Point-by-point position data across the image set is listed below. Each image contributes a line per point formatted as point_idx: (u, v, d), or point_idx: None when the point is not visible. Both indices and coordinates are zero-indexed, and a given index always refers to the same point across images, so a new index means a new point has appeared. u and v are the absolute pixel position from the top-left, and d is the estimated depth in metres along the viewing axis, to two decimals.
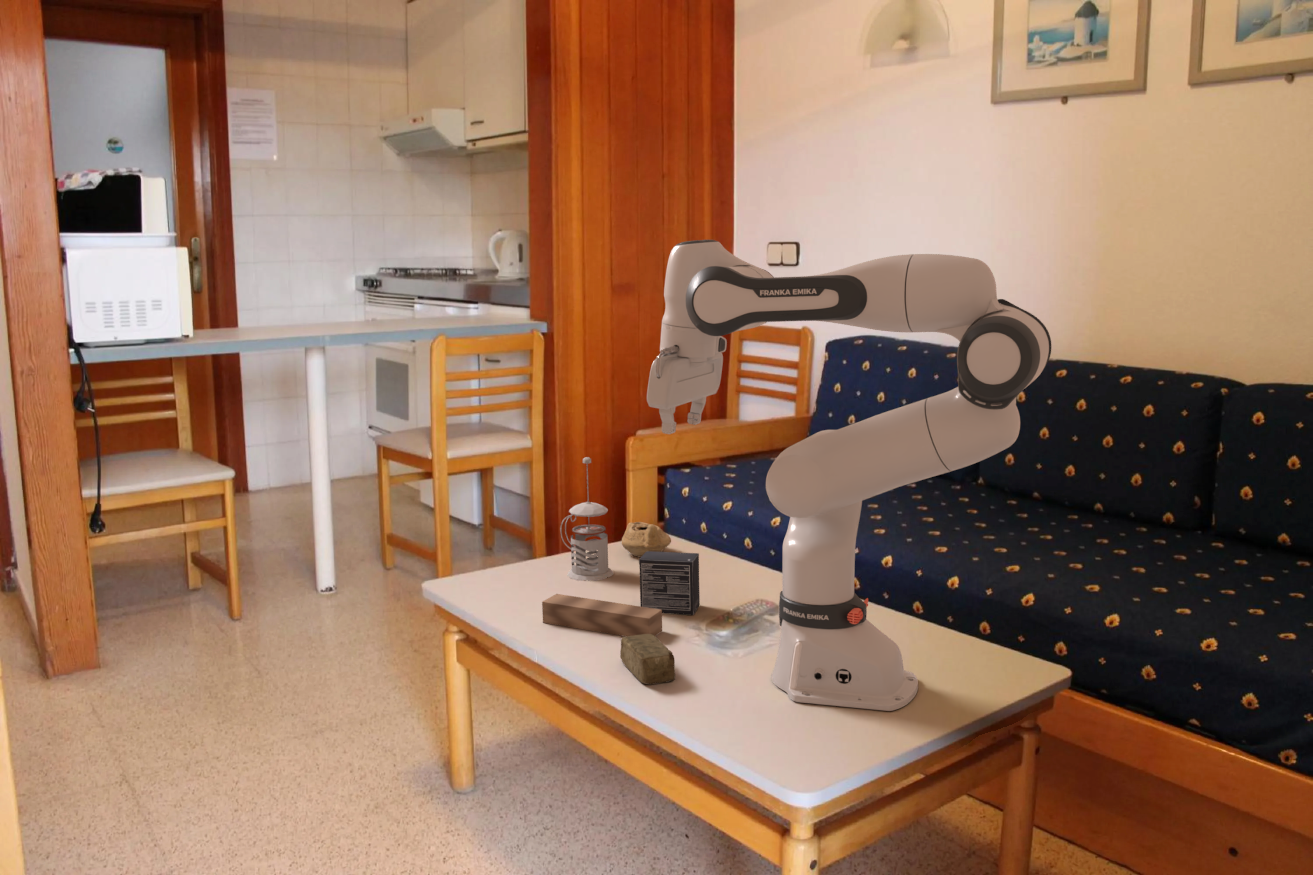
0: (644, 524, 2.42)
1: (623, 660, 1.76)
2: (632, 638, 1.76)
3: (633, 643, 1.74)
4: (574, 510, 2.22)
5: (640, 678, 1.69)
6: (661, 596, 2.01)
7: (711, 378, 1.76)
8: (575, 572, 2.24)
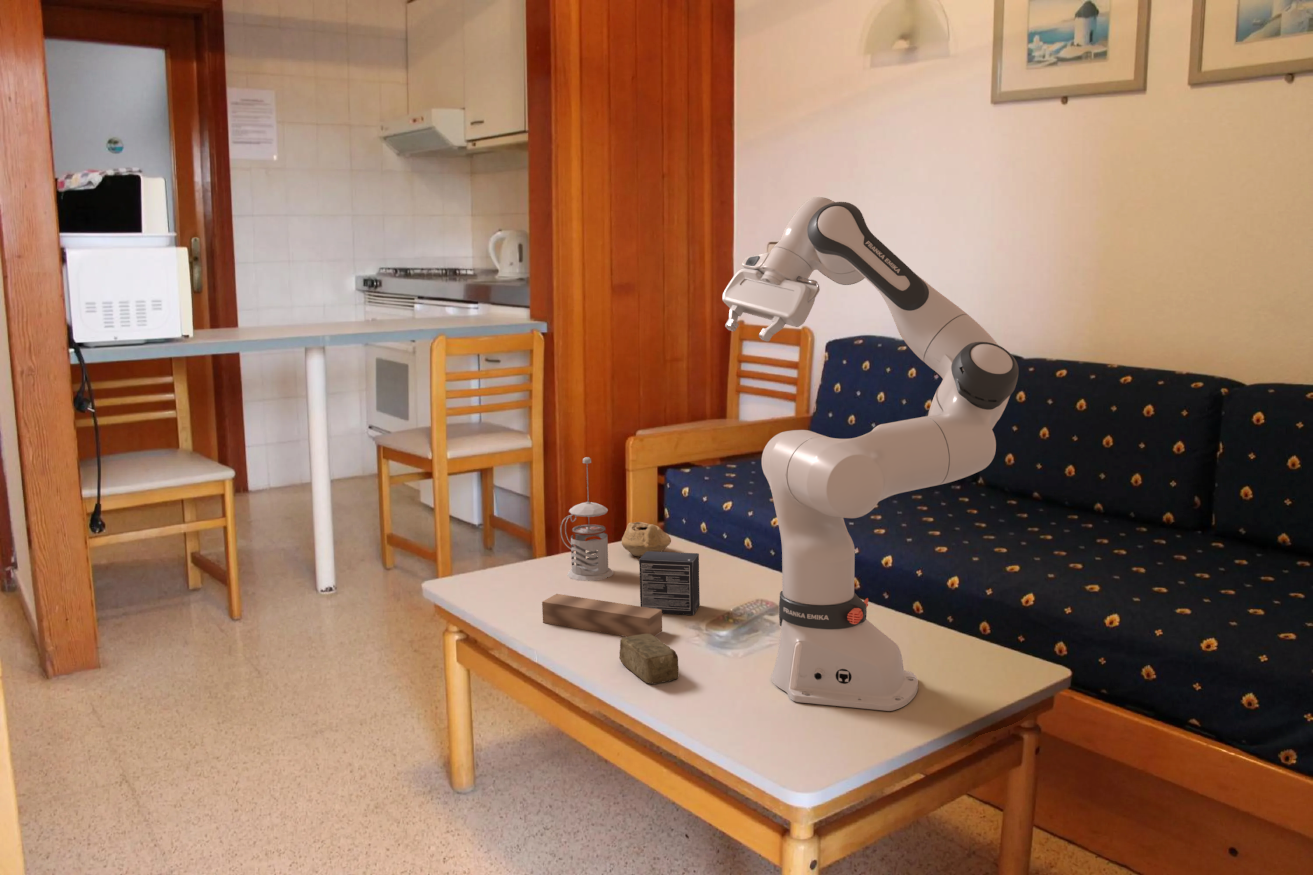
0: (644, 524, 2.42)
1: (623, 661, 1.76)
2: (632, 639, 1.76)
3: (634, 643, 1.74)
4: (574, 510, 2.22)
5: (645, 678, 1.69)
6: (661, 596, 2.01)
7: None
8: (575, 572, 2.24)
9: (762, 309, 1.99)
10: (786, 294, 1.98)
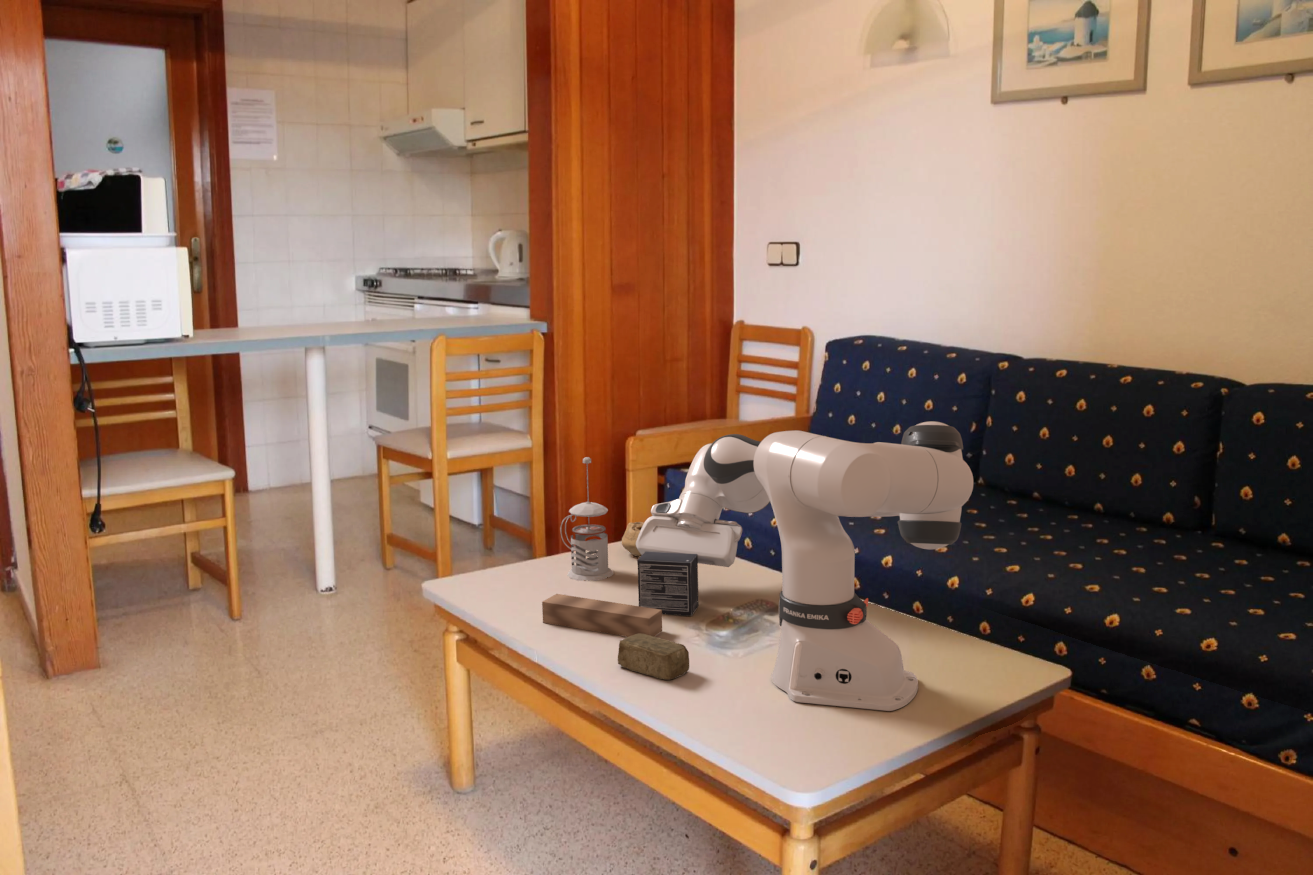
0: None
1: (624, 663, 1.75)
2: (632, 640, 1.75)
3: (639, 643, 1.73)
4: (574, 510, 2.22)
5: (662, 675, 1.70)
6: (659, 596, 2.00)
7: None
8: (575, 572, 2.24)
9: (690, 553, 2.06)
10: (711, 537, 2.07)
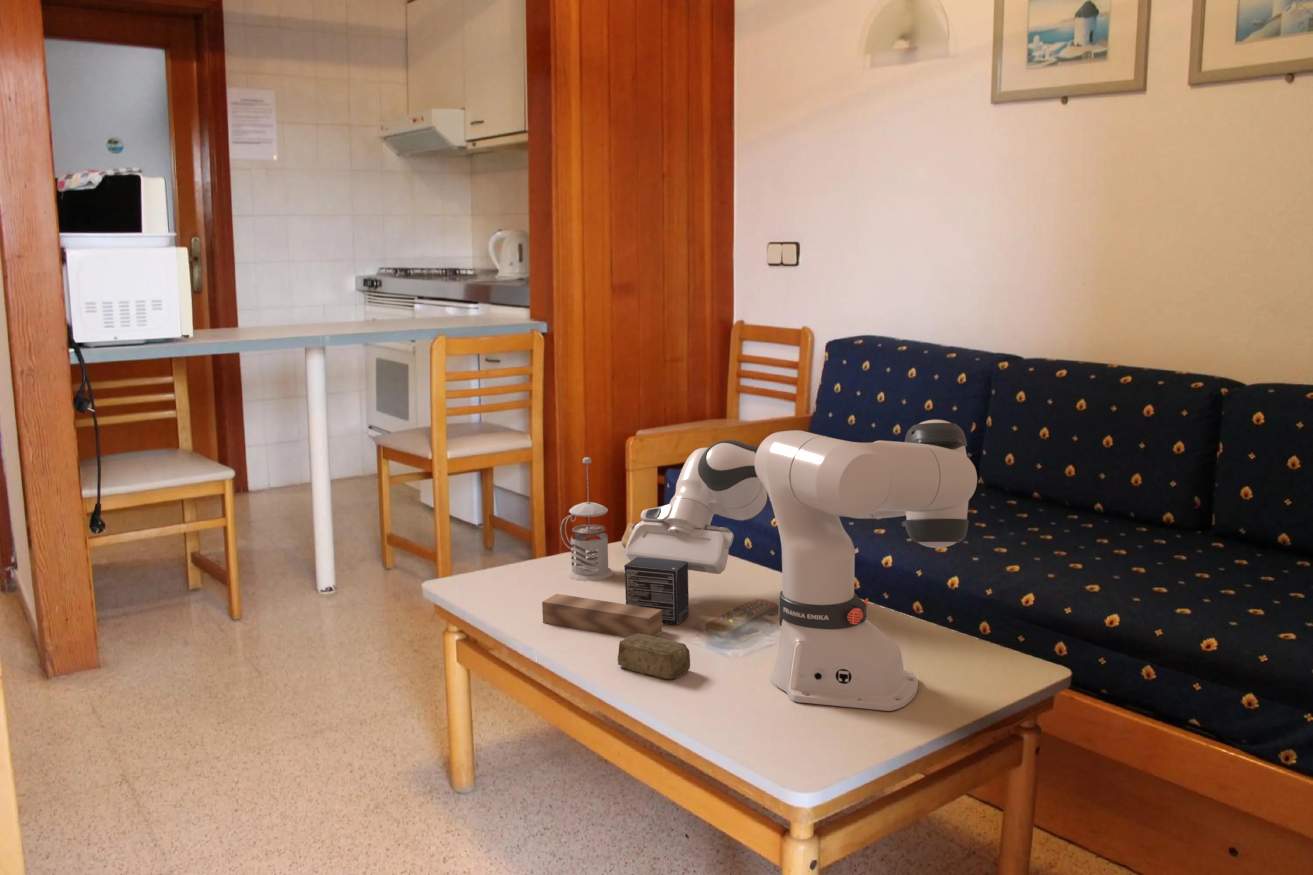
0: None
1: (625, 664, 1.75)
2: (632, 640, 1.75)
3: (640, 643, 1.73)
4: (574, 510, 2.22)
5: (664, 674, 1.70)
6: (646, 603, 1.96)
7: None
8: (575, 572, 2.24)
9: (680, 560, 2.02)
10: (702, 543, 2.03)
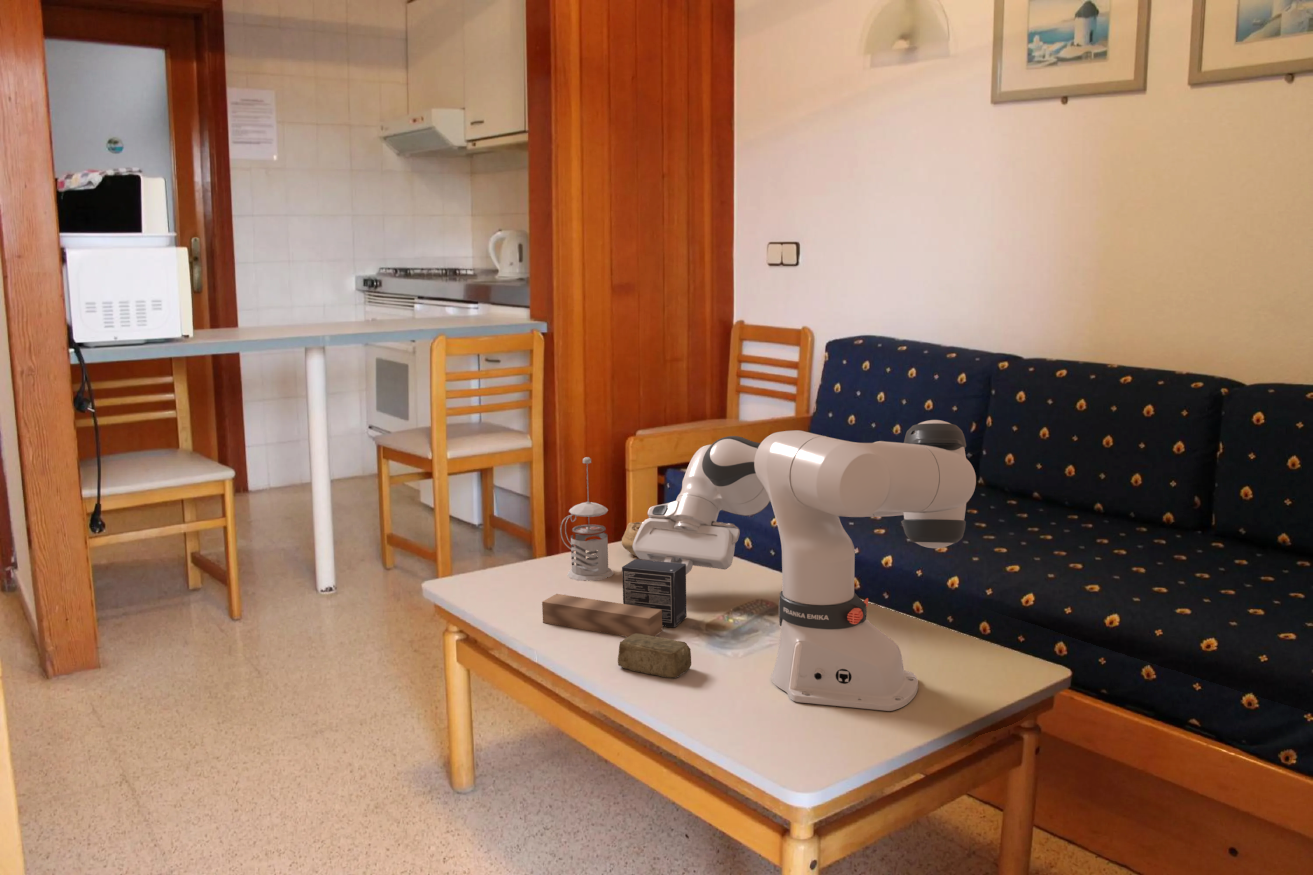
0: None
1: (626, 664, 1.74)
2: (632, 640, 1.75)
3: (641, 643, 1.73)
4: (574, 510, 2.22)
5: (668, 673, 1.71)
6: (643, 606, 1.95)
7: None
8: (575, 572, 2.24)
9: (687, 556, 2.04)
10: (708, 539, 2.05)
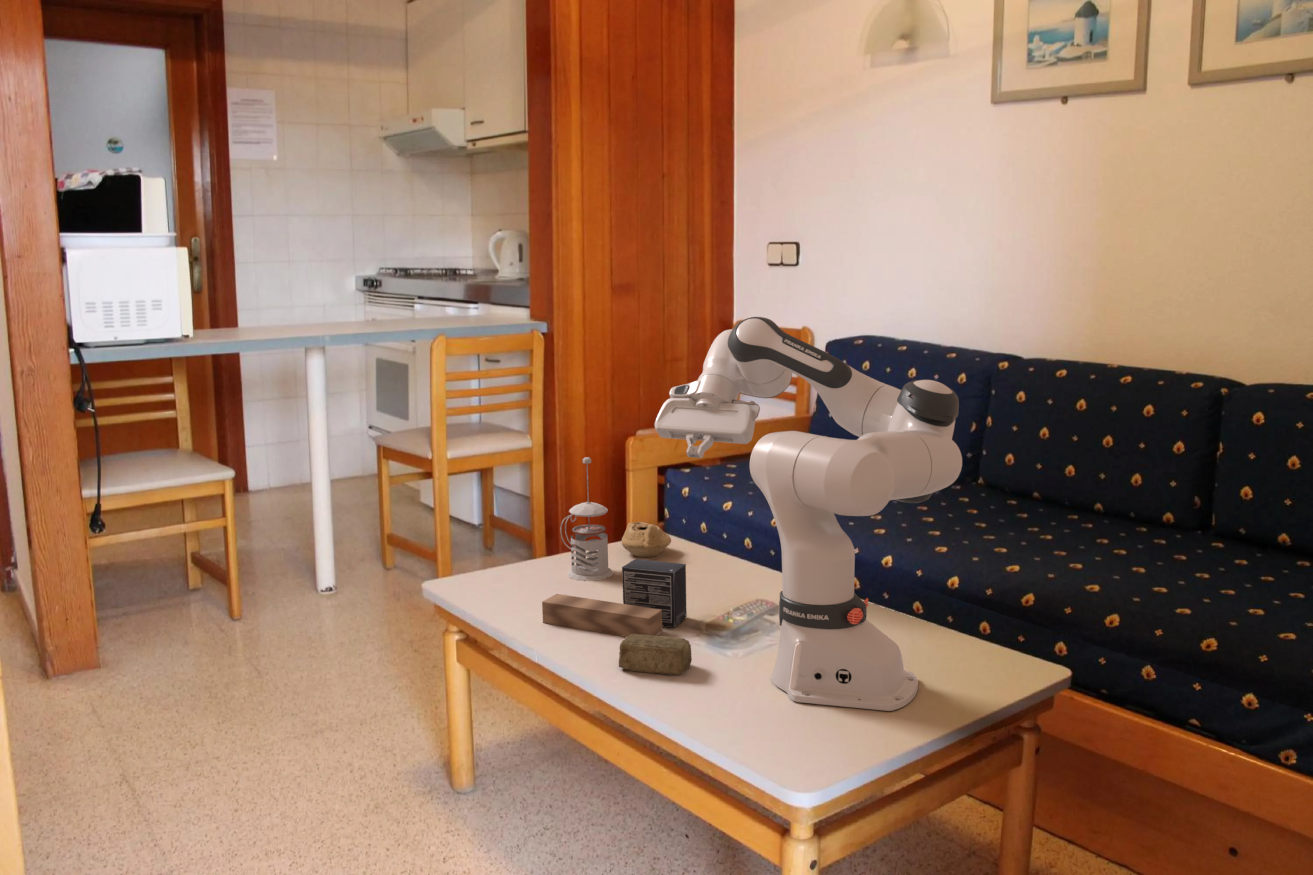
0: (644, 524, 2.42)
1: (628, 665, 1.74)
2: (633, 641, 1.75)
3: (644, 643, 1.74)
4: (574, 510, 2.22)
5: (674, 671, 1.72)
6: (643, 606, 1.95)
7: None
8: (575, 572, 2.24)
9: (709, 430, 2.09)
10: (729, 415, 2.10)
